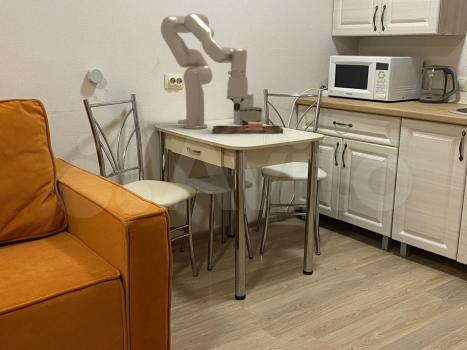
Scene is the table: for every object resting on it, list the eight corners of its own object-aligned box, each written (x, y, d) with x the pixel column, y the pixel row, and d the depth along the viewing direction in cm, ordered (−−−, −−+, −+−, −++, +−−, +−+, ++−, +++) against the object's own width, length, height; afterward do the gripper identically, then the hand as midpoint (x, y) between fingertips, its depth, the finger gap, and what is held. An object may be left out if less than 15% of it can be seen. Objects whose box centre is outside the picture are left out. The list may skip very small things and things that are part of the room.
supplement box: (249, 122, 295) (249, 92, 291) (254, 124, 286) (254, 93, 282) (233, 122, 293) (233, 92, 289) (237, 125, 284) (237, 94, 280)
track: (212, 133, 255) (212, 129, 255) (213, 129, 267) (213, 125, 267) (283, 133, 255) (283, 129, 254) (280, 129, 267) (281, 125, 267)
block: (248, 132, 259) (248, 123, 258) (247, 130, 266) (247, 122, 265) (262, 132, 259) (262, 123, 258) (261, 130, 266) (261, 121, 265)
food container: (262, 125, 283) (263, 107, 281) (262, 126, 277) (262, 108, 275) (240, 124, 284) (240, 106, 282) (239, 126, 278) (239, 108, 276)
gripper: (222, 74, 251) (221, 111, 256) (253, 75, 251) (251, 113, 256) (223, 73, 258) (222, 109, 263) (253, 74, 258) (251, 110, 263)
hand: (236, 111), depth 259 cm, fingers closed
